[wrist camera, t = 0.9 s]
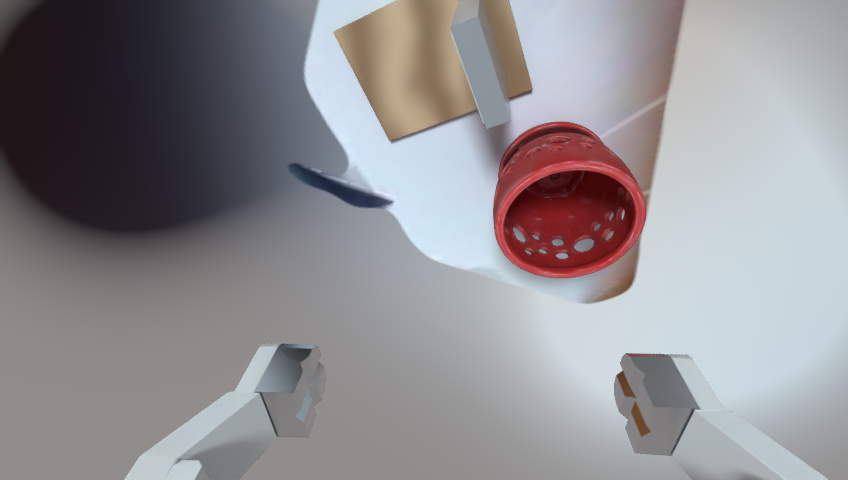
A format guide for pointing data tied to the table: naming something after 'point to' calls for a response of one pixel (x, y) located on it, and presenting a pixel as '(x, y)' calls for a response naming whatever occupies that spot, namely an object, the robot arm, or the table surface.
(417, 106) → the cork mat
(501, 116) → the tile
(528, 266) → the plant pot
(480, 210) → the table surface
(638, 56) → the table surface
